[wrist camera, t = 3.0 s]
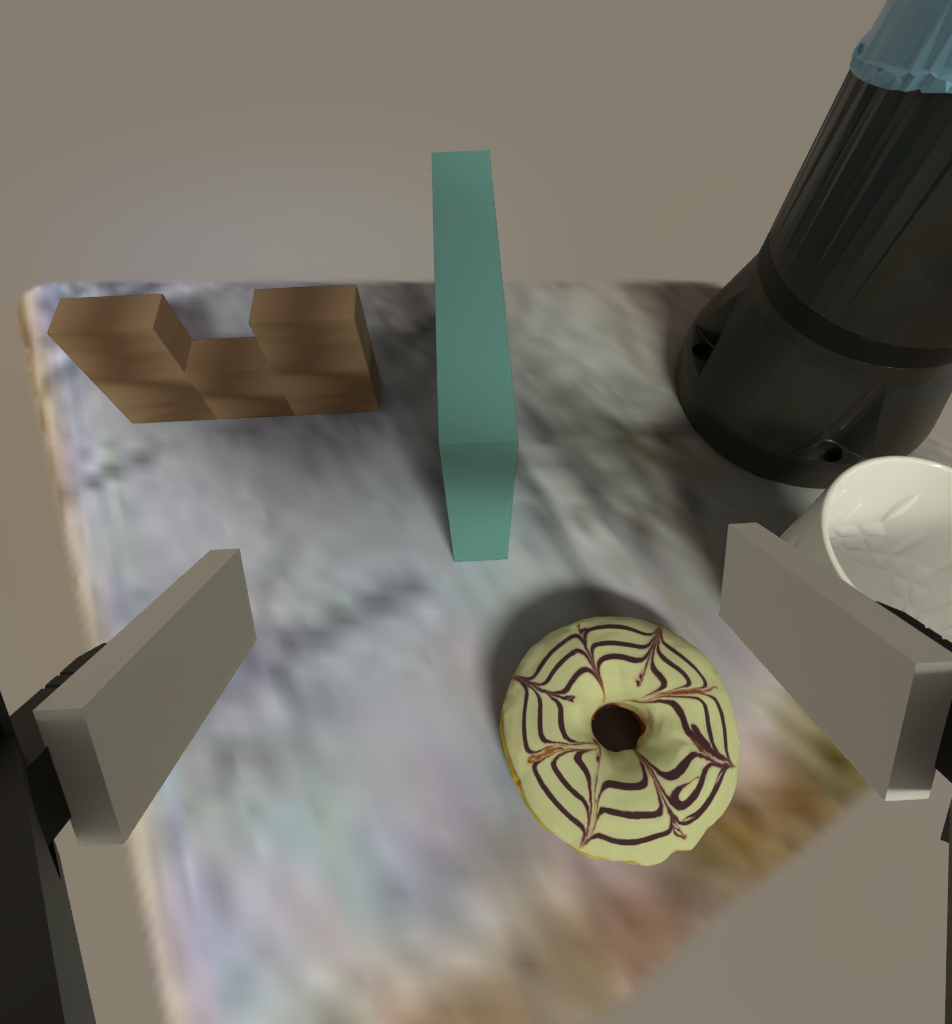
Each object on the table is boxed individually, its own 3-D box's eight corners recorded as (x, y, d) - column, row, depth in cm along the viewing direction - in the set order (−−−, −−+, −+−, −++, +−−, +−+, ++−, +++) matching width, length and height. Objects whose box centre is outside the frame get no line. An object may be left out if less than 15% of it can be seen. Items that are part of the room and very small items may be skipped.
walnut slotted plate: (380, 380, 38) (356, 284, 31) (379, 411, 37) (354, 318, 30) (140, 392, 38) (60, 298, 31) (132, 423, 37) (46, 333, 30)
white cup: (734, 687, 29) (845, 638, 20) (716, 545, 32) (804, 449, 23) (894, 699, 28) (1080, 655, 20) (859, 554, 32) (1004, 460, 23)
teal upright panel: (507, 559, 32) (518, 440, 21) (454, 561, 32) (438, 444, 21) (488, 322, 40) (489, 149, 29) (446, 324, 40) (431, 152, 29)
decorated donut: (762, 802, 27) (802, 803, 23) (553, 896, 25) (564, 913, 22) (656, 602, 31) (677, 578, 28) (472, 672, 30) (470, 656, 26)
